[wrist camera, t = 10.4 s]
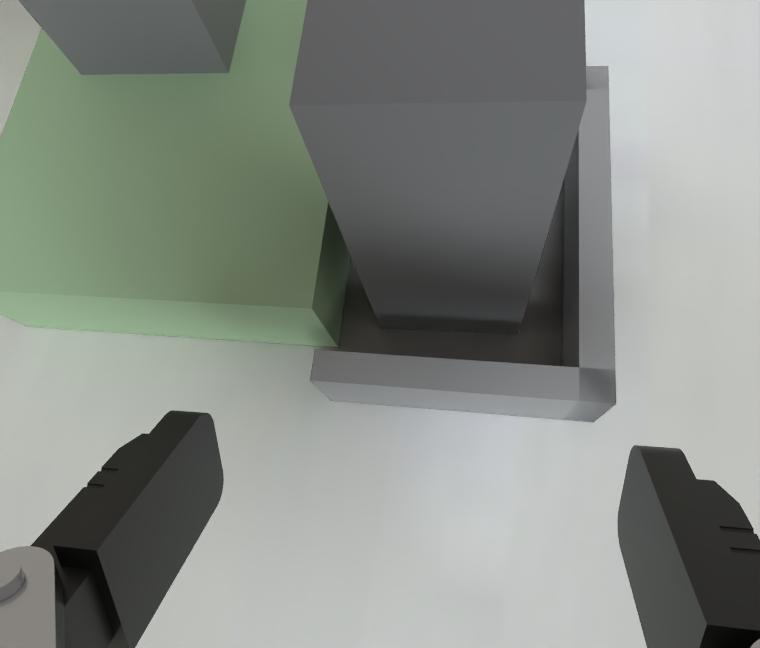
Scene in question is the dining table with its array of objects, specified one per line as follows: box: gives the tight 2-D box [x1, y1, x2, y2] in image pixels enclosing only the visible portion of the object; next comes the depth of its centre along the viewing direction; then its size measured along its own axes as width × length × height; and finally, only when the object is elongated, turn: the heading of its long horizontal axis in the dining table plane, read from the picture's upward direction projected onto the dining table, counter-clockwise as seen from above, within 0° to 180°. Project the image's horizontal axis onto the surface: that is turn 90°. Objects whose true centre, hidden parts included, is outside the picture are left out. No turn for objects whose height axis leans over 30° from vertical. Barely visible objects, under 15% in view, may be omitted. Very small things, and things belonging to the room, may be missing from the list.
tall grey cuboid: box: [289, 0, 587, 334], centre depth 16 cm, size 5×6×12 cm
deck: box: [0, 0, 616, 422], centre depth 19 cm, size 22×20×10 cm
